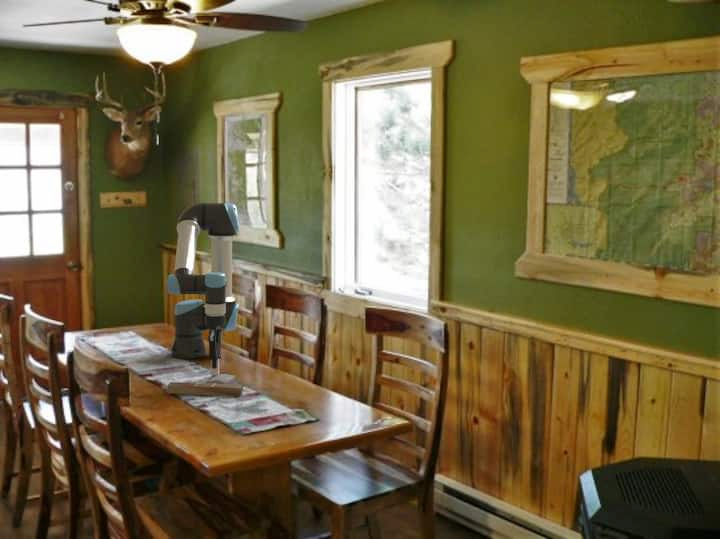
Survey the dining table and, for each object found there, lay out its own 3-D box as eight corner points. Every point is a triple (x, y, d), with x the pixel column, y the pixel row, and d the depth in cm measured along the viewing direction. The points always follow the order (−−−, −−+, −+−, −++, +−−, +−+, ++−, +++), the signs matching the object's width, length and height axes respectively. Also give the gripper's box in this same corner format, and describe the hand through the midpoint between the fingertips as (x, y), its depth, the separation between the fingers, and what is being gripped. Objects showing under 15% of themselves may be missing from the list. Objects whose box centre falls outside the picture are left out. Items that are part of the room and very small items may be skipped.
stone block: (203, 395, 282) (229, 391, 281) (200, 382, 282) (227, 378, 281) (212, 387, 294) (238, 383, 293) (210, 375, 294) (235, 371, 293)
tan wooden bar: (170, 390, 280) (170, 381, 280) (242, 392, 280) (242, 384, 279) (167, 393, 276) (167, 384, 276) (240, 396, 276) (240, 387, 275)
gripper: (209, 310, 297) (209, 371, 300) (201, 317, 284) (201, 380, 287) (228, 311, 297) (228, 372, 300) (221, 317, 284) (221, 381, 287)
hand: (215, 376), depth 294 cm, fingers closed
